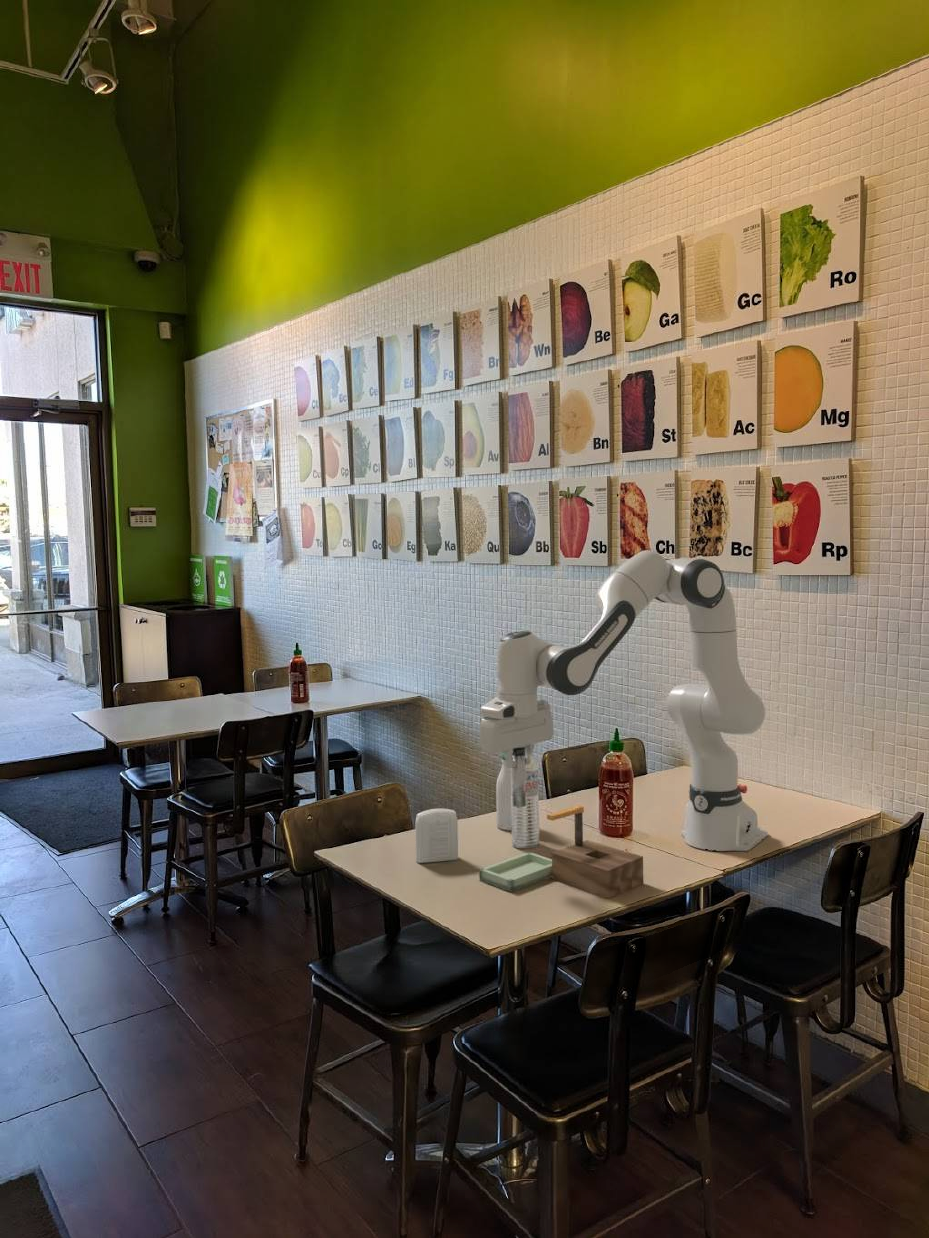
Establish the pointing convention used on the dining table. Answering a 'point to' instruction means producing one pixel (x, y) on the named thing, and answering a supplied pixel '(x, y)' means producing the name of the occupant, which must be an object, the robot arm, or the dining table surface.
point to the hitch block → (596, 866)
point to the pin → (519, 778)
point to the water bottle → (527, 811)
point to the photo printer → (436, 835)
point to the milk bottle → (504, 797)
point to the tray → (517, 872)
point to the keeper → (565, 813)
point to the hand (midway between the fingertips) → (518, 765)
